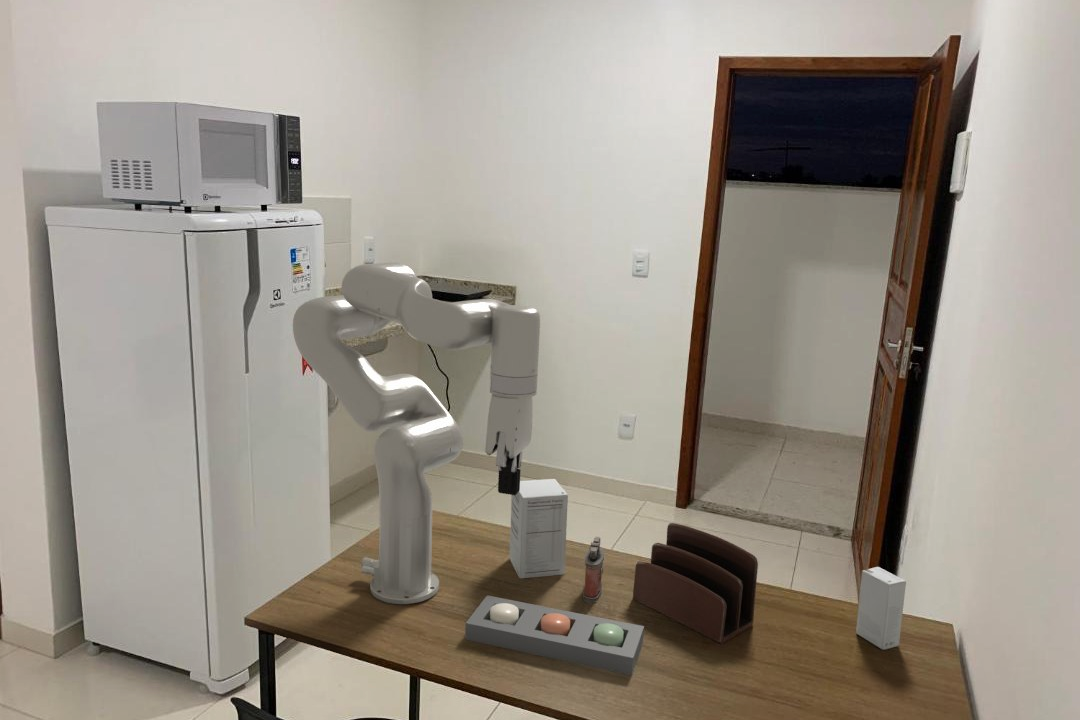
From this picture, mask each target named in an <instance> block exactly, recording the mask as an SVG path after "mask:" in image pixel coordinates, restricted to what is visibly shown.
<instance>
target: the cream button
mask: <svg viewBox="0 0 1080 720" xmlns="http://www.w3.org/2000/svg"><path fill="white" fill-rule="evenodd" d="M518 616H519V609H518V608H517V607H516V606H514V605H512V604H508V603H500V604H496V605H494V606H492V607H491V609H490V621H494V622H499V623H504V624H509V625H514V626H515V624H516V623H517V621H518Z"/></svg>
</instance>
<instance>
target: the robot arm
mask: <svg viewBox="0 0 1080 720" xmlns="http://www.w3.org/2000/svg"><path fill="white" fill-rule="evenodd" d="M341 293H342V294H340V295H339V294H338V295H329V296H328V295H327V296H320V297H316V298H313V299H310V300H307V301H305V302H304V303H302V304H301V305H300V306H298V308H296V311H295V312H294V315H293V319H292V333H293V338H294V342H295V345H296V347H297V350H298V352H299V354H300V355H301V357H302V358H303V359H304V360H305V362H306V363H307V364H308V365H309V367H310V368H311V369H312V370H313V371H314V372H315V373H316V374H318V376H319V377H320V378H321V379H322V381H324V382H325V384H327V386H328V387H329V388H330V390H331V391H332V393H333V394H334V396H335V397H336V399H338V401H339V403H340V404H341V405H342V406H343V407H344V409H345V410H346V412H347V413H348V414H349V416H350V417H351V418H352V420H353V421H354V422H355V424H356V425H358V427H359V428H361V429H362V430H364V431H366V432H379V431H383V430H384V431H383V432H382V433H380V435H379V436H378V437H377V439H376V441H375V443H374V446H373V458H374V464H375V468H376V469H375V470H376V475H377V482H378V498H379V499H378V501H379V502H378V504H379V506H378V507H379V508H378V509H379V513H378V515H379V517H378V519H379V522H378V525H379V528H378V532H379V533H378V536H379V537H378V538H379V540H378V550H379V552H378V559H374V558H369V557H363V558H362V560H361V570H360V572H361V573H362V574H365V575H371V576H372V577H373V578H372V579H371V582H370V586H369V587H370V588H369V589H370V593H371V594H372V596H373V597H374V598H376V599H377V600H379V601H381V602H385V603H387V604H394V605H410V604H417V603H421V602H424V601H427V600H429V599H430V598H432V597H434V596H435V595H436V593H438V591H439V589H440V580H439V578H438V576H437V575H436V574H434V572H432V550H433V548H432V545H433V544H432V540H433V497H432V496H433V495H432V492H431V488H430V486H428V482H427V481H426V479H425V473H427V472H429V471H431V470H434V469H436V468H439V467H441V466H442V467H443V466H445V465H447V464H449V463H451V462H453V461H455V460H456V459H457V458H458V457H459V456H460V454H461V453H462V450H463V448H464V447H463V445H464V438H463V434H462V431H461V428H460V426H459V424H458V423H457V422H456V420H455V418H454V417H453V416H452V415H451V414H450V412H449V411H448V409H446V407H445V406H444V405H443V403H442V401H440V399H438V397H437V396H436V395H435V394H434V392H433V391H432V390H431V388H429V386H428V384H426V383H425V382H424V381H423V380H422V379H420V378H419V377H417V376H415V375H413V374H411V373H398V374H397V373H396V374H392V375H388V376H386V375H385V376H384V375H382V374H380V373H379V372H377V370H376V369H374V368H373V366H372V365H371V364H370V362H369V361H368V360H367V359H366V357H364V355H362V354H361V353H360V352H359V351H357V350H355V349H354V348H352V347H350V346H349V345H346V344H345V343H344V342H342V341H344V340H345V341H346V340H351V339H352V340H353V339H359V338H366V337H369V336H372V335H375V334H376V333H378V332H380V331H381V330H383V329H385V327H386V326H387V325H389V324H391V322H394V323H397V324H400V325H401V326H402V328H403V330H405V332H406V333H407V335H409V336H410V337H411V338H412V339H414V340H416V341H418V342H421V343H423V344H426V345H428V346H433V347H435V348H438V349H442V350H447V351H460V350H462V351H463V350H465V349H470V348H475V347H481V346H489V345H491V347H490V348H491V350H490V371H489V375H490V376H489V393H490V394H491V396H490V402H489V408H488V416H487V425H486V426H487V427H486V434H485V435H486V437H485V449H484V451H485V454H486V455H487V456H491V455H492V454H494V453H495V452H496V456H495V467H498V468H497V469H498V483H497V491H498V493H499V494H504V495H511V496H512V495H516V494H517V493H518V492H519V491H520V481H521V467H522V459H523V452H524V451H523V450H525V449H526V448H527V447H528V446H529V445H530V444H531V439H532V433H533V397H534V396H536V395H537V392H538V373H539V372H538V371H539V356H540V355H539V353H540V352H539V351H540V333H541V332H540V331H541V329H540V328H541V315H540V312H539V311H538V310H537V309H536V308H534V307H531V306H527V305H515V304H508V303H506V302H504V301H501V300H498V299H495V298H480V299H469V300H468V299H467V300H461V301H454V302H448V301H443V300H439V299H435V298H433V293H432V289H431V287H430V285H429V284H428V282H427V281H426V280H424V279H422V278H420V277H417V275H416V274H415V272H414V271H413V270H412V269H411V268H410V267H409V266H407V265H406V264H403V263H400V262H379V263H364V264H360V265H356V266H354V267H353V268H351V269H349V271H347V272H346V274H345V275H344V277H342V281H341Z"/></svg>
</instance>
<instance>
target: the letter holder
mask: <svg viewBox="0 0 1080 720" xmlns="http://www.w3.org/2000/svg"><path fill="white" fill-rule="evenodd" d="M650 553H651V555H650V562H646V561H641V560H640V561H638V562H637V563H635V572H634V581H633V591H632V599H633V600H635V601H637V602H638V603H640V604H642V605H645V606H646V607H648V608H650V609H653V610H655V612H658V613H660V614H661V615H663V616H666V617H667V618H669V619H672V620H673V621H675V622H678V623H679V624H682V625H683V626H685V627H687V628H689V629H691V630H693V631H695V632H697V633H700V634H701V635H703V636H705V637H707V638H709V639H711V640H713V641H715V642H717V643H718V644H720V645H722V644H724V643H726V642H727V641H729V640H731V639H732V638H734V637H735V636H737V635H740V634H741V633H742V632H744V631H747V630H748V629H749V628H751V627H752V626H753V624H754V617H755V615H754V614H755V603H756V602H755V601H756V591H757V578H758V570H759V563H758V562H759V561H758V559H757V557H756V556H755V555H754V554H752V552H749V551H747V550H745V549H743V548H742V547H740V546H738V545H736V544H735V543H732V542H730V541H728V540H725V538H724V539H723V538H722V537H719V536H717V535H713V534H711V533H708V532H705V531H703V530H700V529H698V528H693V527H692V526H691V527H690V526H687V525H683V524H680V523H675V522H670V523H668V525H667V528H666V544H664V543H661V542H655V543H654V544H652V546H651V552H650Z"/></svg>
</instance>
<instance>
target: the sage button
mask: <svg viewBox="0 0 1080 720" xmlns="http://www.w3.org/2000/svg"><path fill="white" fill-rule="evenodd" d="M623 634H624V632H623V630H622V628H620V627H619V626H617V625H614V624H608V623H604V624H599V625H597V626H596V627H595V628H594V639H593V642H596V643H601V644H606V645H611V646H616V647H621V648H622V647H623Z"/></svg>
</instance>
